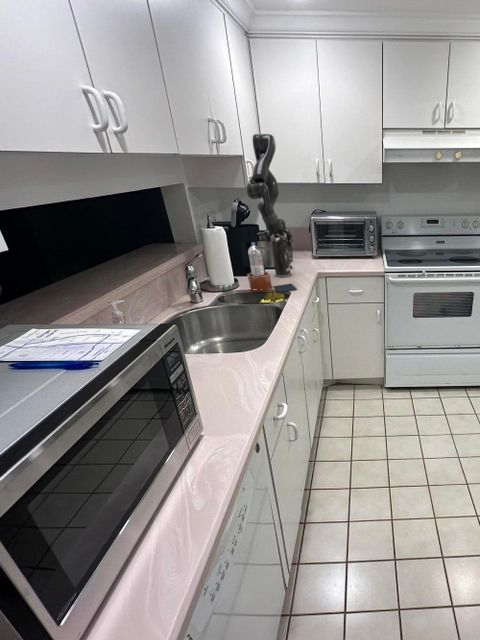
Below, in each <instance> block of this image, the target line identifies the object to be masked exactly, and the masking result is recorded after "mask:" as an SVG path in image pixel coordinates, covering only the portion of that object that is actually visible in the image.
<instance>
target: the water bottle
mask: <svg viewBox="0 0 480 640" xmlns="http://www.w3.org/2000/svg"><path fill="white" fill-rule="evenodd" d="M247 254H248V259H249V264H250V271H251V272H250V273H252V277H261V276H265V272H266V271H265V265H264V261H263V257H262V256H263V255H262V254H263V253H262V250H261V248H260V247H259V246H258V245H256V242H254V241H253V242H251V245H250V247H249V248H248V250H247Z"/></svg>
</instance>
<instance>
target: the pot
mask: <svg viewBox="0 0 480 640" xmlns="http://www.w3.org/2000/svg"><path fill="white" fill-rule="evenodd" d="M264 272H265V276H261V277H252V272H249V273H247V274H246V276H247V281H248V287H249V290H250V291H251V292H256V293H260V292H266V291H269V290H270V289H272V288H273V287H272V281H271V274H270V272H268V271H264ZM250 288H251V289H250ZM253 289H257V290H253ZM261 289H262V290H261Z"/></svg>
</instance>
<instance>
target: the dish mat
mask: <svg viewBox="0 0 480 640" xmlns="http://www.w3.org/2000/svg"><path fill="white" fill-rule="evenodd" d="M273 288H274V289H275V290H276V292H278V293H279V294H280V293H286V292H292V291H293V292H294V291H298V290H297V288H296V287H295V286H294V284H292V283H286V284H278V285H274V286H273Z"/></svg>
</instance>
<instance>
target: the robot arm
mask: <svg viewBox="0 0 480 640" xmlns="http://www.w3.org/2000/svg"><path fill="white" fill-rule="evenodd" d="M276 148H277V143H276V139H275V137H274V135H273V134H271V133H255V134H253V135H252V149H253V152H254V157H255V160H256V161H255V164H254V166H253V170H252V176H251V177H250V179H249V180H248V182H247V184H246V187H245V188H246V190H245V191H246V196H247V197H248V198H249V199H251V200H258V199H262V200H260V201H259V202H258V203H257V205H256V206H257V209H258V211H259V213H260V215H261V218H262V221H263V223H264V225H265V231H264V232H263V233H264V237H265V239H266V241H267V242H268V243H269V242H270V243H271V244H270V246H271V253H272V259H273V265H274V271H275V272H274V274H275V277H277V278H287V277H290V276H292V272H291V270H292V268H293V266H292V264H290V261H292V260H293V259H292V258H291V260H290V259H289V258H290V254H289V248H291V246H292V242H291V240H292V238H293V235H292V233H291V232H290V229H289V228H288V227H287V224H286V220H284V218H279V217H278V215H277V213H276V211H275V210H274V209H275V208H274V206H275V204H276V202H277V200H278V197H279V185H278V181H277V178H276V177H275V175H274V174H273V172H272V171H271V169H270V165H271V164H272V162H273V159H274V156H275V153H276ZM275 239H276V240H275Z"/></svg>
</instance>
